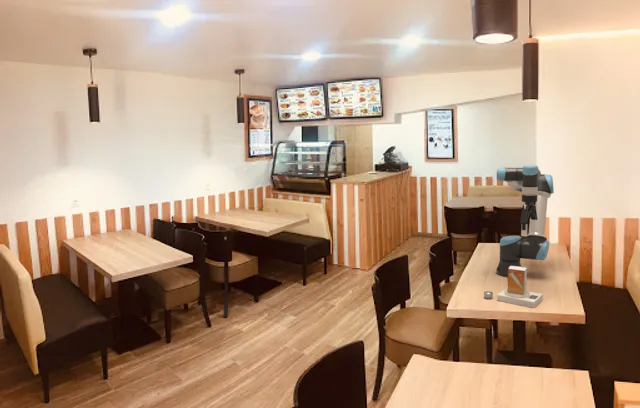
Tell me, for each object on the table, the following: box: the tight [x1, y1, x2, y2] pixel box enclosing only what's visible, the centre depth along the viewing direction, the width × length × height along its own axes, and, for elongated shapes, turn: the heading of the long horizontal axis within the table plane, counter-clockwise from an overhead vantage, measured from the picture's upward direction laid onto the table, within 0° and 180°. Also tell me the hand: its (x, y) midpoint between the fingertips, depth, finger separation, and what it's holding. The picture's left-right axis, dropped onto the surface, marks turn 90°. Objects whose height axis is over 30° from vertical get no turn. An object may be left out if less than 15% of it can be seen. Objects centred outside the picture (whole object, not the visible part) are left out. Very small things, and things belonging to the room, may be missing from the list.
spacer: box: [483, 290, 494, 300], centre depth 239 cm, size 4×4×3 cm
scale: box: [496, 287, 544, 309], centre depth 235 cm, size 18×14×4 cm
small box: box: [507, 266, 528, 295], centre depth 234 cm, size 8×6×13 cm
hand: (528, 233), depth 244 cm, fingers open, 13 cm apart
